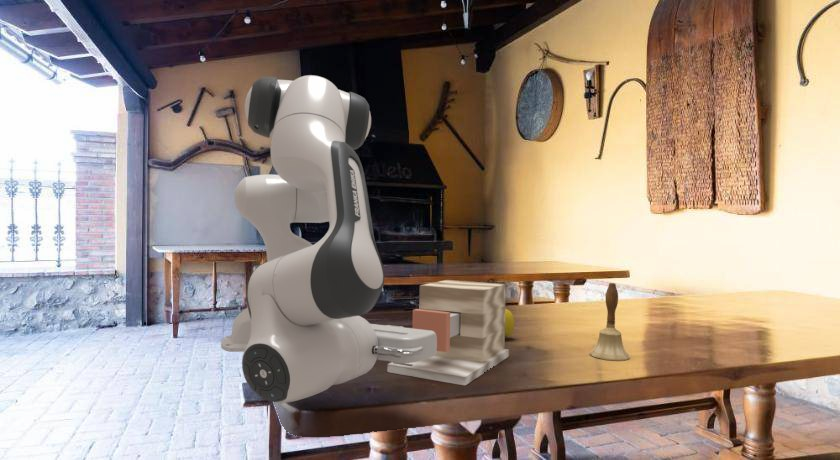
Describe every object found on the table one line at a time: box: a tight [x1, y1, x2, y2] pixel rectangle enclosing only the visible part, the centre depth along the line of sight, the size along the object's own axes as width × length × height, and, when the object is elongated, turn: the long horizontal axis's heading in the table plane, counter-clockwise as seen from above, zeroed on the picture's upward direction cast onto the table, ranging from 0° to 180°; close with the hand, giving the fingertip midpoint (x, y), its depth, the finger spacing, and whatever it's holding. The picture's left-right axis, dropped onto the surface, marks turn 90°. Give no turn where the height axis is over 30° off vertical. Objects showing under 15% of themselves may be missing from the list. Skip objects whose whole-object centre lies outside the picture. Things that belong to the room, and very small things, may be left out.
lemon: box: [505, 307, 515, 338], centre depth 129 cm, size 6×6×8 cm
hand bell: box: [589, 282, 631, 362], centre depth 114 cm, size 8×8×16 cm
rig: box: [386, 279, 510, 386], centre depth 106 cm, size 24×16×16 cm
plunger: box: [411, 308, 461, 352], centre depth 102 cm, size 12×7×7 cm, turn 152°
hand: (396, 330), depth 86 cm, fingers closed
